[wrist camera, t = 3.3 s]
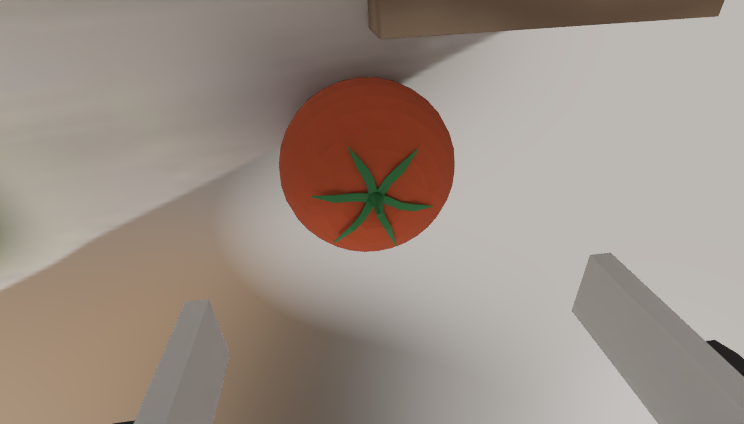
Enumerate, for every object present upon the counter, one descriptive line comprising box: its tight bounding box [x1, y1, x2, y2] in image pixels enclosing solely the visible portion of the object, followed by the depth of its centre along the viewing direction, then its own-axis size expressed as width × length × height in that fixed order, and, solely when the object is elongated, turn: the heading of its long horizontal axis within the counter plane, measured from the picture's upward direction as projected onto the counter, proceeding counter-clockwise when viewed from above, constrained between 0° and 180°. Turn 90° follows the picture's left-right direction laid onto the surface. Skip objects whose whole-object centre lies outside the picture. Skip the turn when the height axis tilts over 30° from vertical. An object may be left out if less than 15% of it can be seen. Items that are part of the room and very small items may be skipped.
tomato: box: [279, 77, 454, 252], centre depth 22 cm, size 10×10×10 cm
